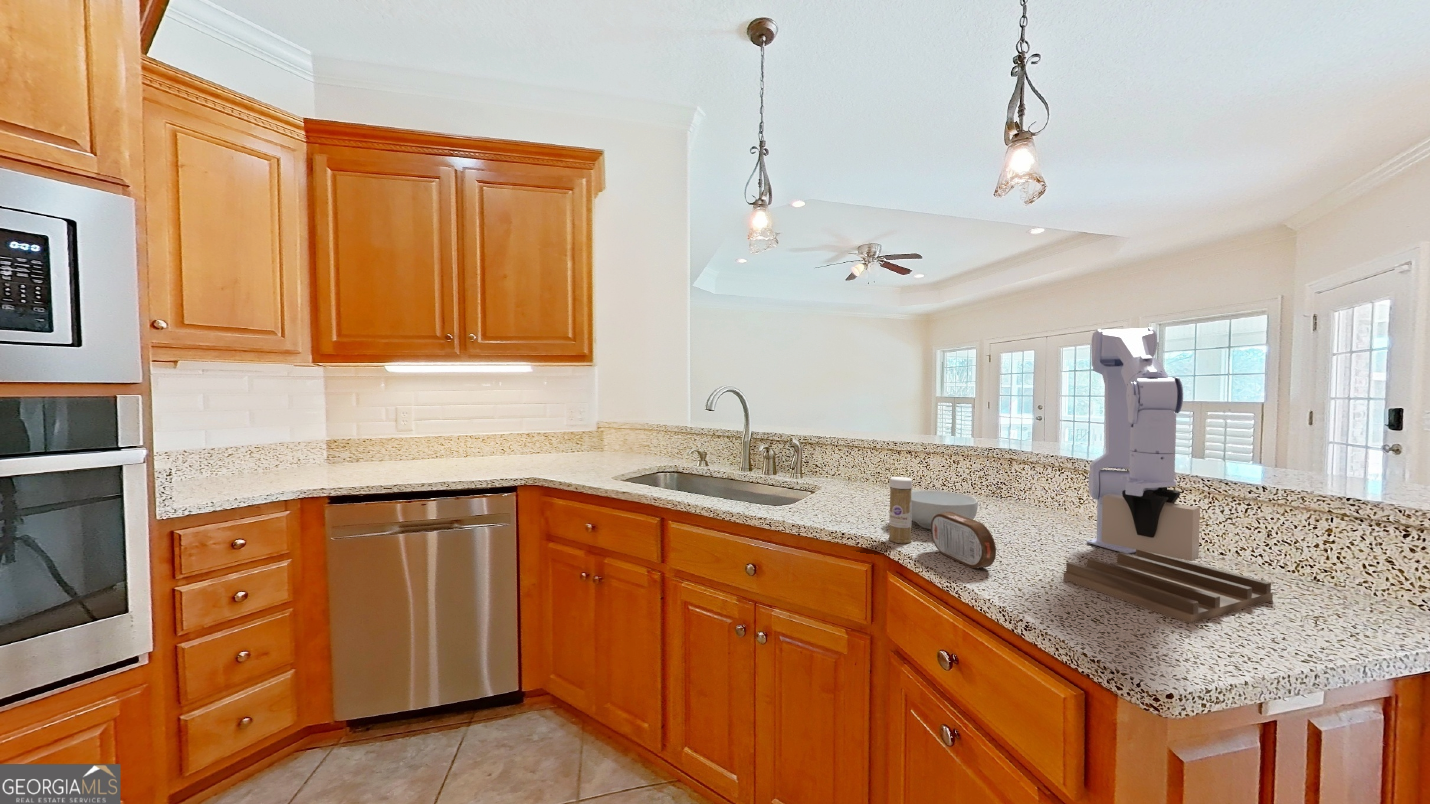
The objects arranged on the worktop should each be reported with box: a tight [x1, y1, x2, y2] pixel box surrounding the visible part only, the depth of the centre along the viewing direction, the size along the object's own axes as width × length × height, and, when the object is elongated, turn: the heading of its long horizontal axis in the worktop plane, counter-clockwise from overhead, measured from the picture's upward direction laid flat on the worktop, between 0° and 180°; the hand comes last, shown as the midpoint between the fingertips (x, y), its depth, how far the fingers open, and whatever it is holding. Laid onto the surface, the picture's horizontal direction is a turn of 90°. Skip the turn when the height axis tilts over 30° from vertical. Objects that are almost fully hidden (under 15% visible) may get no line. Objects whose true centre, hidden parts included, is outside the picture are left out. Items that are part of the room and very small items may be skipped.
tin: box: [930, 512, 997, 569], centre depth 100 cm, size 15×3×8 cm, turn 14°
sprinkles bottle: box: [888, 476, 913, 545], centre depth 112 cm, size 5×5×14 cm
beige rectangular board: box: [1102, 494, 1201, 562], centre depth 87 cm, size 3×12×8 cm, turn 33°
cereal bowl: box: [911, 489, 979, 530], centre depth 124 cm, size 17×17×7 cm
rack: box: [1063, 549, 1274, 625], centre depth 86 cm, size 21×18×3 cm
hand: (1150, 534), depth 87 cm, fingers closed on beige rectangular board, 3 cm apart
